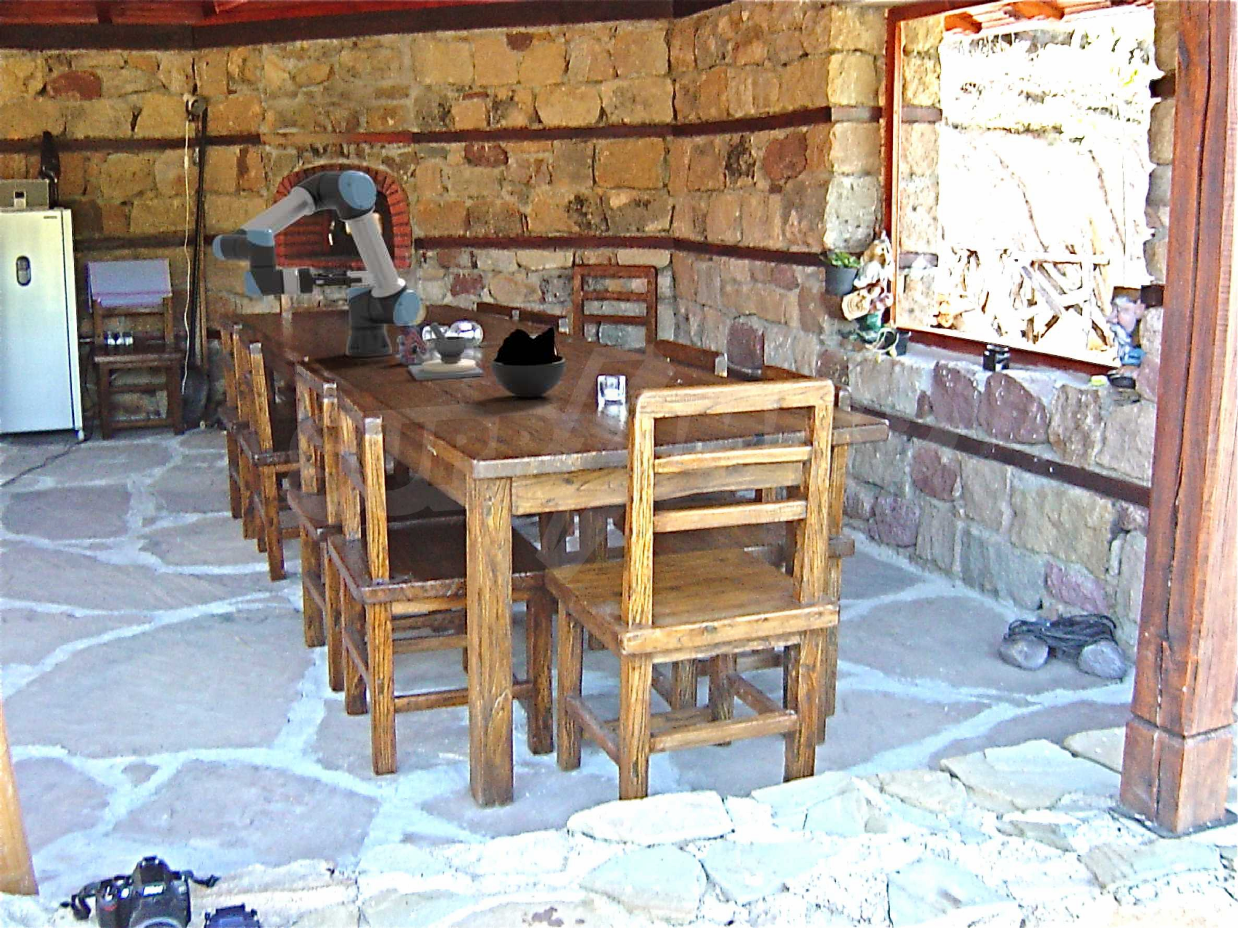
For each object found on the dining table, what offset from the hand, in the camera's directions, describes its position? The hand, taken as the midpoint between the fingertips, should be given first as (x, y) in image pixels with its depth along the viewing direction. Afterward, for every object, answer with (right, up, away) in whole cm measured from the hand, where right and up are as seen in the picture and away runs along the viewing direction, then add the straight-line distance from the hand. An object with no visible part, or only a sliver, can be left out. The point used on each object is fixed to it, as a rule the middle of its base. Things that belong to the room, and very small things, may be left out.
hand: (371, 277), depth 395 cm
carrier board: (+22, -28, +6) cm, 36 cm away
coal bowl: (+50, -38, -38) cm, 74 cm away
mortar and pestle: (+23, -25, +4) cm, 34 cm away
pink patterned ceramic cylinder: (+9, -24, +27) cm, 37 cm away
